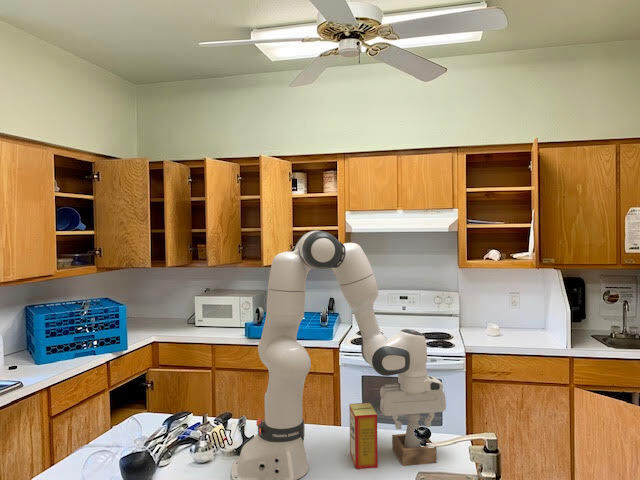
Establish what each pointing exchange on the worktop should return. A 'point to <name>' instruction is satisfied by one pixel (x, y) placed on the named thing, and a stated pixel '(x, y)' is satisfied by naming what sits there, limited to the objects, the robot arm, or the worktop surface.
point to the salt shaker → (412, 431)
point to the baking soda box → (363, 436)
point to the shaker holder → (412, 452)
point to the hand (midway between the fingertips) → (413, 427)
